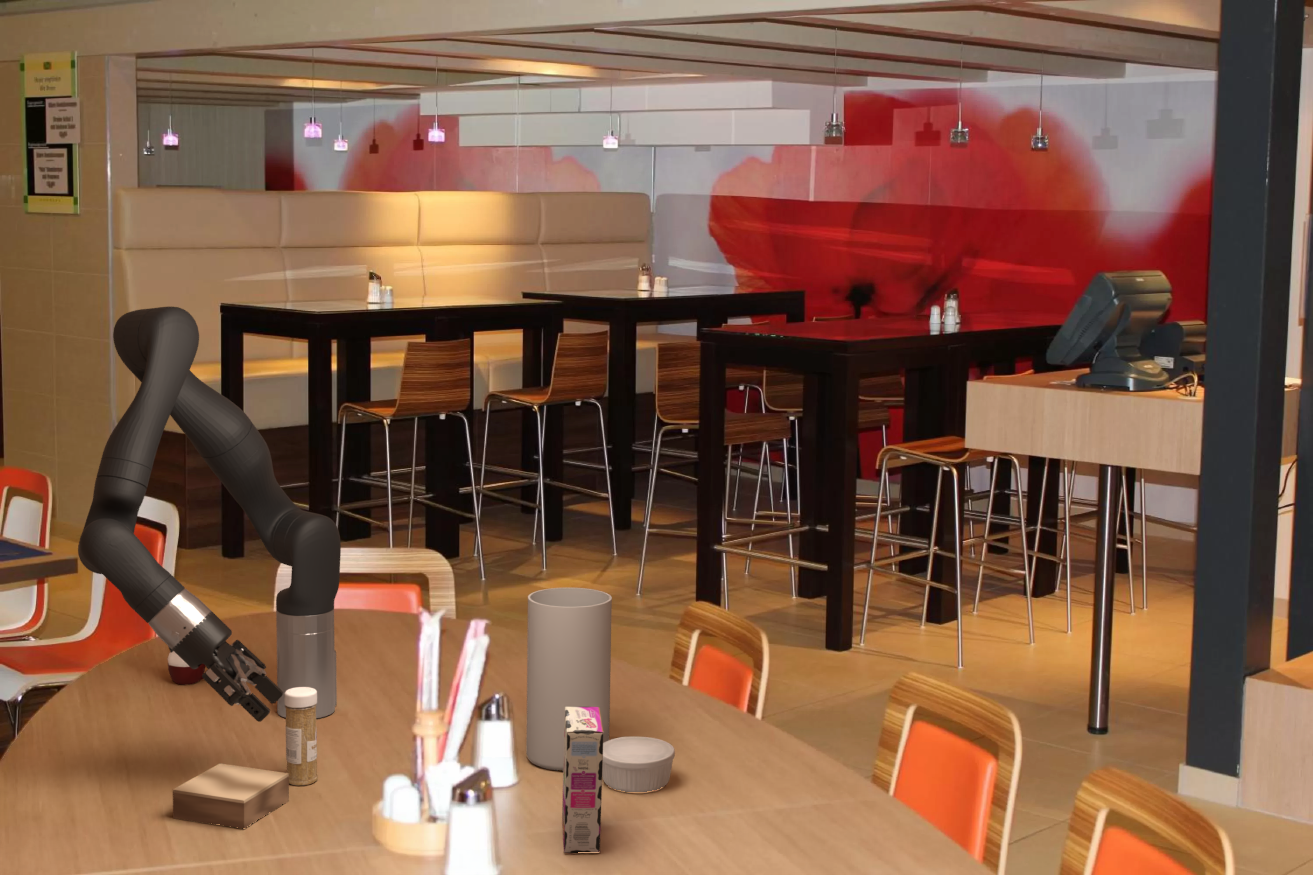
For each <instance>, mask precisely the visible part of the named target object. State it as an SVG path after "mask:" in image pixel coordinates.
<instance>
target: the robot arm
mask: <svg viewBox="0 0 1313 875" xmlns="http://www.w3.org/2000/svg"><path fill="white" fill-rule="evenodd" d="M112 333H113V334H112V338H113V345H114V348H115V350H116V353H117V354H118V357H119V358H120V360H121V361H122V363H123V365H125V367H126V368H127V369H129V371H130V372H131V374H133V375H134V377H135V378H137V379H138V381H139V382H141V384H140V385H139V388H138V390H137V392H136V394H135V396H134V397H133V400H132V401H131V402H130V404H129V406H128V407H127V409H126V411H125V412H124V414H123V415H122V416H121V418H120V420H119V421H118V422H117V424H116V425H115V427H114V429H113V430H112V432H111V433H110V435H109V437H108V439H107V441H106V443H105V446H104V447H103V452H102V454H101V458H100V463H99V466H98V469H97V473H96V478H95V481H94V488H93V495H92V501H91V505H90V508H89V511H88V514H87V517H86V518H85V519H86V520H85V523H84V526H83V529H82V532H81V534H80V538H79V541H78V548H77V554H78V558H79V560H80V562H81V563H82V566H84V568H86V569H87V570H88V571H90V572H92V573H95V574H97V575H103V577H105V578H106V579H107V580H108V581H109V582H110V583H111V584H112V585H113V586H114V587H115V588H116V589H117V590H118V591H119V592H120V594H121V595H122V598H123V599H124V601H125V602H126V603H127V604H128V606H129V607H130V608H131V609H132V610H133V611H134V612H135V613H136V614H137V615H139V617H140V618H141V619H142V620H144V622H145V623H147V624H148V625H149V627H150V628H151V629H152V630H153V632H154V633H155V634H156V635H157V636H158V638H160V640H161V641H163V643H165V644H166V645H167V647H168V646H169V647H170V648H171V649H172V650H173V651H174V652H175V653H176V654H177V655H178V656H179V657H180V658H181V659H182V660H183V661H184V662H185V663H187V664H188V665H189V666H190V667H191V668H192V669H197V668H198V667H199V666H200V665H201V664H204V665H205V666H206V667H205V668H207V670H205V672H204V674H203V675H202V677H203V679H202V680H204V681H205V682H206V683H207V684H208V686H210V687H211V688H212V689H213V690H214V691H215V692H216V693H217V694H218V695H219V696H220V697H221V699H223V700H224V701H225V702H226V703H227V704H228V705H229V706H230V707H233V706H234V705H236V706H241V707H242V708H243V709H244V710H245V711H246V712H247V713H248V714H249V715H250V716H251V717H252V718H253V719H255V721H257V722H259V723H260V722H262V721H263V720H264V719H266V718H267V717H268V715H269V714H270V712H271V710H270V707H268V706H267V705H266V704H265V703H264V702H263V701H262V700H261V699H260V698H259V697H257V695H255V694H254V693H253V692H252V691H251V689H250V687H249V686H248V684H250V685H251V686H254V689H256V690H257V691H258V692H259V693H260V694H261V695H262V696H263V697H264V698H265V699H266V700H267V701H269V703H271V704H275V703H276V704H277V706H276V707H277V709H276V710H277V714H278V716H280V717H283V718H285V719H286V708H285V702H284V697H285V692H286V691H287V690H288V689H291V688H296V687H310V688H313V689H315V690H316V691H317V703H316V719H320V718H325V717H327V716H330V715H331V714H333V713H334V712H335V710H336V706H337V704H338V701H337V699H338V698H337V697H338V696H337V695H338V694H337V692H338V691H337V689H338V688H337V651H336V649H335V600H336V596H337V595H338V591H339V589H340V588H339V587H340V579H341V578H340V577H341V576H340V574H341V572H340V571H341V550H342V547H341V546H342V545H341V543H342V542H341V536H340V530H339V529H338V526H337V524H336V523H335V522H334V520H333V519H332V518H331V517H329V516H326V515H323V514H320V513H316V512H312V511H307V510H303V509H301V508H300V507H298V506H297V505H296V504H295V502H293V501H292V499H290V497H289V496H288V495H287V493H286V492H285V491H284V489H283V488H282V487H281V486H280V484H279V483H278V481H277V479H276V476H275V472H274V467H273V461H272V455H271V452H270V449H269V446H268V443H267V442H266V441H265V439H264V437H263V436H262V434H261V433H260V432H259V430H258V428H257V427H256V426H255V424H254V423H253V421H252V420H251V419H250V418H249V416H248V415H247V414H246V412H244V411H243V409H241V408H240V407H239V406H238V405H236V403H234V402H232V401H231V400H230V399H229V398H228V397H226V396H224V395H223V394H222V393H220V392H218V390H217V391H216V390H215V389H213V387H210V385H208V384H206V383H205V382H203V381H202V380H201V379H200V378H199V377H198V376H196V375H195V374H194V373H193V372H192V371H191V367H192V366H193V363H194V361H195V359H196V355H197V352H198V347H199V344H200V331H199V327H198V324H197V322H196V320H195V318H194V317H193V315H192V314H190V312H189V311H188V310H186V309H184V308H181V307H179V306H159V307H158V306H157V307H151V308H143V309H142V308H141V309H135V310H131V311H129V312H126V313H124V314H123V315H121V316H119V318H118V319H117V320H116V322H115V325H114V327H113V332H112ZM170 417H171V418H172V419H173V421H174V422H175V423H176V425H177V426H178V427H179V429H180V430H181V431H182V432H183V434H184V435H185V436H186V437H187V439H188V440H189V441H190V443H191V444H192V445H193V447H194V449H195V450H196V451H197V452H198V454H199V455H200V457H201V458H202V459H203V461H204V462H205V463H206V465H207V466H208V468H209V469H210V470H211V472H213V474H214V475H215V476H216V477H217V478H218V480H219V481H220V482H221V483H222V485H223V487H224V488H225V489H226V490H227V491H228V493H229V494H230V496H232V497H233V499H234V500H235V501H236V503H237V504H238V505H239V506H240V507H241V509H242V510H243V511H244V513H245V515H246V516H247V518H248V520H249V521H250V523H251V525H252V527H253V528H254V529H255V532H256V533H257V535H258V537H259V538H260V541H261V542H262V544H263V546H264V547H265V548H266V550H267V552H268V553H269V554H270V556H271V557H272V558H273V559H275V560H276V561H277V562H278V563H280V564H282V565H286V566H289V567H291V574H290V575H291V576H290V577H291V578H290V585H289V587H287V588H284V589H280V591H278V592H277V594H276V597H275V599H276V601H275V609H276V610H275V613H276V615H275V616H276V618H275V619H276V620H275V621H276V626H275V627H276V677H277V678H276V683H274V681H273V680H271V678H270V677H269V676H268V675H267V672H266V670H265V669H266V668H267V665H266V664H265V663H264V662H263V661H262V660H261V659H260V658H258V657H257V655H255V654H254V653H253V652H252V651H251V650H250V649H249V648H248V647H247V646H246V645H245V644H244V643H243V642H242V641H240V640H239V639H236V640H234V641H233V642H232V643H231V644H230V643H228V641H227V640H229V638H230V637H231V636H232V633H233V632H232V631H233V630H232V629H231V628H230V627H229V626H228V625H227V624H226V623H224V621H222V619H221V618H220V617H218V616H217V615H216V614H215V613H214V612H213V611H212V610H211V609H210V608H209V607H208V606H207V605H206V604H205V603H204V602H203V601H202V600H201V599H200V598H199V597H197V596H196V595H195V594H193V593H192V592H190V591H189V590H188V589H187V588H185V586H184V585H183V584H182V583H181V582H180V581H178V580H177V578H176V577H175V576H173V575H172V573H170V572H169V571H168V570H167V569H165V568H164V567H163V566H162V565H161V564H160V563H159V562H158V561H157V560H156V558H155V557H154V556H153V555H152V553H151V552H150V551H149V549H147V547H146V545H144V543H143V542H142V541H141V540H140V539H139V538H138V536H137V535H136V534H135V530H136V524H137V519H138V515H139V510H140V508H141V506H142V504H143V501H144V499H145V497H146V492H147V489H148V485H149V481H150V478H151V475H152V470H153V467H154V466H153V465H154V462H155V459H156V455H157V451H158V449H159V448H158V447H159V445H160V442H161V438H162V435H163V434H164V430H165V427H166V425H167V423H168V421H169V419H170ZM169 647H168V648H169Z"/></svg>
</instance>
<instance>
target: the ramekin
mask: <svg viewBox="0 0 1313 875" xmlns="http://www.w3.org/2000/svg"><path fill="white" fill-rule="evenodd" d="M675 756H676V751H675V747H674V746H673V745H672V744H671V743H669V742H668V741H665V740H663V739H659V738H657V737H650V736H649V737H647V736H621V737H620V736H619V737H617V738H611V739H609V741H606V742H604V743H603V770H602V781H603V783H604V784H605V785H606V786H607V785H608V786H609V787H611V788H613V789H616V790H621V791H625V792H647V791H652V790H657V789H660V788H661V787H664V786H665V785H666V786H667V785H668V783H669V781H670V778H671V774H672V773H671V771H672V767H673V762H674V761H673V760H674V758H675ZM608 786H607V787H608ZM666 786H665V787H666ZM609 787H608V788H609ZM665 787H664V788H665ZM611 788H610V789H611ZM613 789H612V790H613Z"/></svg>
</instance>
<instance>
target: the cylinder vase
mask: <svg viewBox="0 0 1313 875" xmlns="http://www.w3.org/2000/svg"><path fill="white" fill-rule="evenodd" d="M612 598H613V597H612V595H611V594H609V593H607V592H605V591H601V590H598V589H593V588H586V587H585V588H584V587H553V588H551V587H550V588H545V589H539V590H536V591H534V592H531V593H530V594H528V595H527V637H526V638H527V645H526V646H527V647H526V648H527V651H526V655H527V658H526V659H527V662H526V738H525V739H526V740H525V741H526V743H525V744H526V750H525V751H526V753H525V754H526V758H527V759H528V760H529V761H530V762H531V763H532V764H533V765H535V766H537V767H540V768H542V769H546V770H552V771H558V770H562V771H561V772H563V759H564V725H565V707H599V708H600V714H601V721H602V727H603V732H604V733H603V743H604V742H606V741H609V740H610V725H611V723H610V720H611V718H610V717H611V716H610V714H611V712H610V710H611V667H612V666H611V662H612V659H611V658H612V651H611V650H612V606H613V605H612V602H613V601H612V600H613V599H612Z"/></svg>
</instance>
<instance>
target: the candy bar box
mask: <svg viewBox="0 0 1313 875" xmlns="http://www.w3.org/2000/svg"><path fill="white" fill-rule="evenodd" d="M603 733H604V732H603V727H602V721H601V714H600V708H599V707H565V725H564V759H563V771H562V805H561V806H562V807H561V808H562V813H561V814H562V815H561V818H562V819H561V824H562V840H563V841H562V842H563V853H564V854H565V853H578V852H599V851H600V852H601V831H602V830H601V829H602V825H601V824H602V802H603V801H602V800H603V799H602V797H603V777H602V770H603Z"/></svg>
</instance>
